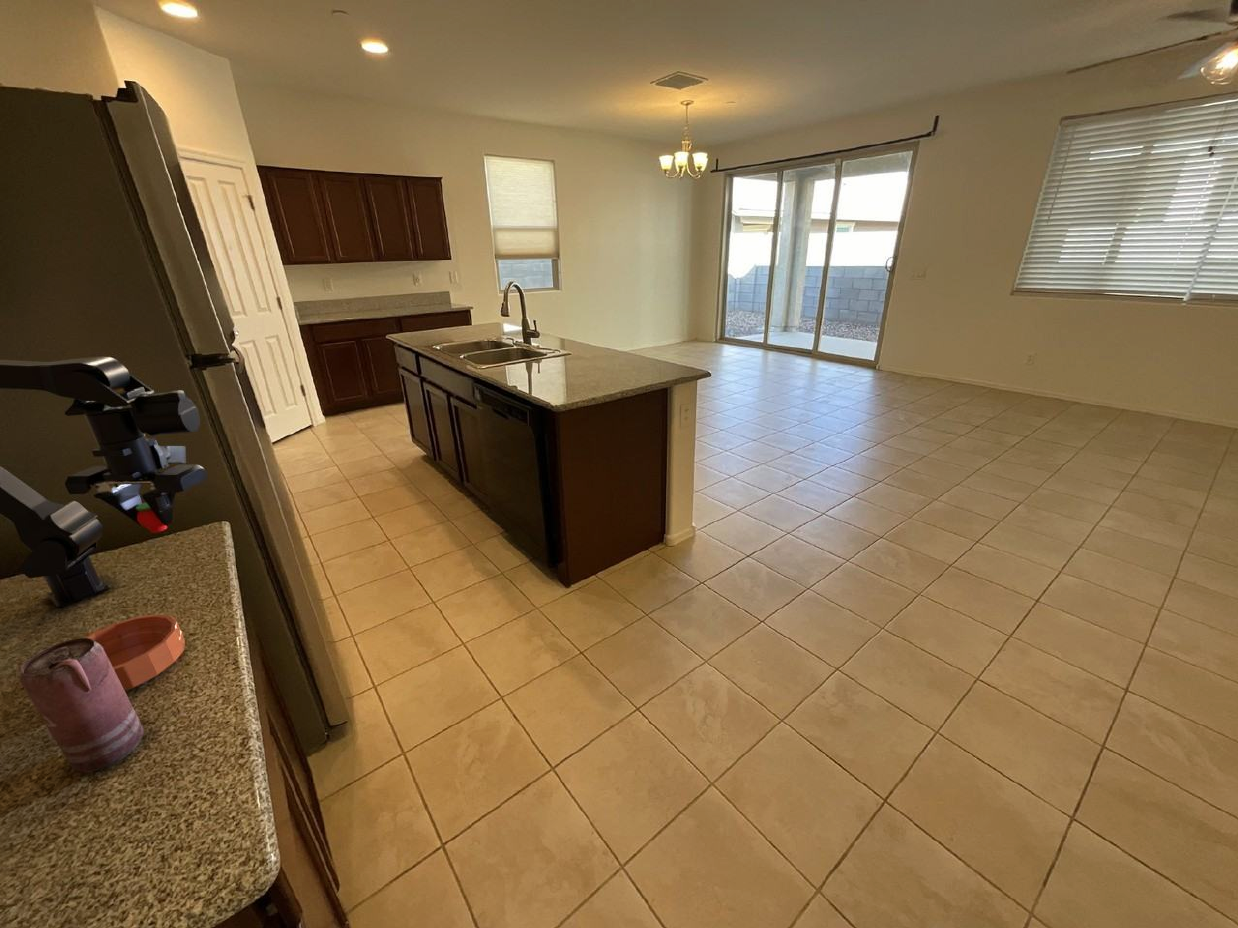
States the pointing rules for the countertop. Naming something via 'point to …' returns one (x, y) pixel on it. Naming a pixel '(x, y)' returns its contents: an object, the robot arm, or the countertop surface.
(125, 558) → the countertop surface
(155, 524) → the strawberry
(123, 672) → the bowl
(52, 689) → the can
